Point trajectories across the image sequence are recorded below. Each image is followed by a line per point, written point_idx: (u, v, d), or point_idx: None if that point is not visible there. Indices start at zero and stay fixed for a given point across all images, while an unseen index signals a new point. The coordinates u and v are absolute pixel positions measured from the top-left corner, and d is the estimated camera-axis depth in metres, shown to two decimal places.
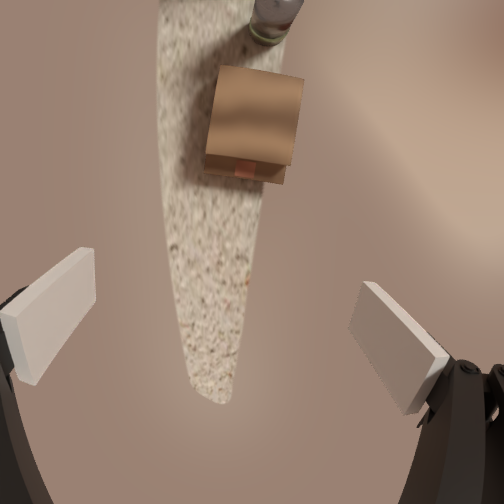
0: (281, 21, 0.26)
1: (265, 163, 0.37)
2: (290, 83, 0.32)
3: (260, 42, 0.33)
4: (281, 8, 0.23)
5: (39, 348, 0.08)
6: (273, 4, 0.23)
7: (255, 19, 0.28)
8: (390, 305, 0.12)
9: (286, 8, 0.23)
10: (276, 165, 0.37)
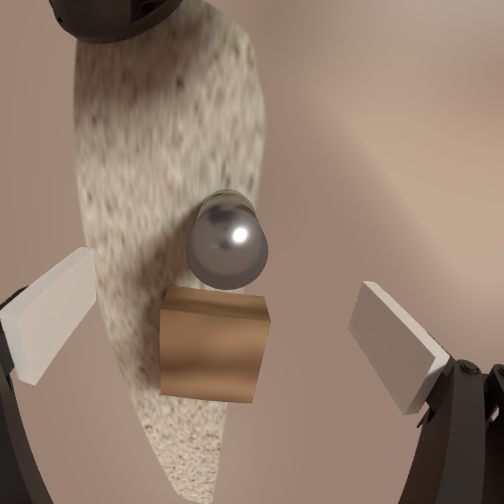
0: None
1: None
2: (251, 328, 0.27)
3: None
4: (228, 281, 0.19)
5: (39, 348, 0.08)
6: (215, 273, 0.19)
7: None
8: (390, 305, 0.12)
9: (236, 279, 0.19)
10: None
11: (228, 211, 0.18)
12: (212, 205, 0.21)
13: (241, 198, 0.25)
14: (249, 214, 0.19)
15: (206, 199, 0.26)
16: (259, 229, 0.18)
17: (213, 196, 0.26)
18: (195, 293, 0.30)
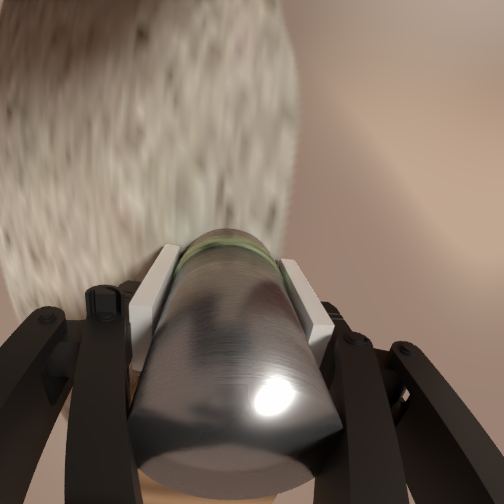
0: None
1: None
2: None
3: None
4: (237, 492, 0.06)
5: None
6: (207, 484, 0.06)
7: None
8: (295, 278, 0.13)
9: (257, 489, 0.06)
10: None
11: (236, 376, 0.05)
12: (191, 302, 0.08)
13: (258, 258, 0.12)
14: (294, 351, 0.06)
15: (186, 254, 0.13)
16: (330, 413, 0.05)
17: (199, 250, 0.13)
18: None
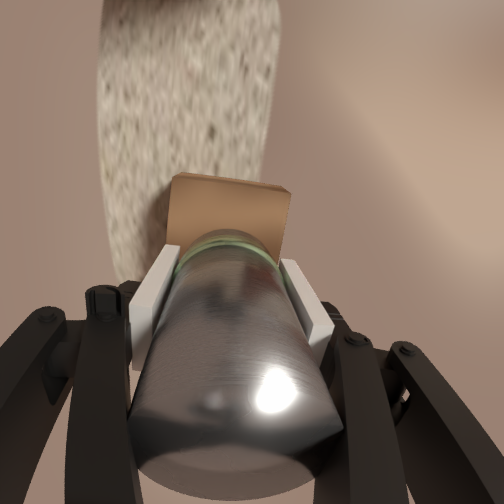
0: None
1: None
2: (270, 201, 0.25)
3: None
4: (238, 492, 0.06)
5: None
6: (207, 485, 0.06)
7: None
8: (295, 278, 0.13)
9: (257, 490, 0.06)
10: None
11: (236, 376, 0.05)
12: (191, 302, 0.08)
13: (258, 258, 0.12)
14: (295, 351, 0.06)
15: (186, 254, 0.13)
16: (330, 414, 0.05)
17: (199, 250, 0.13)
18: (209, 176, 0.28)
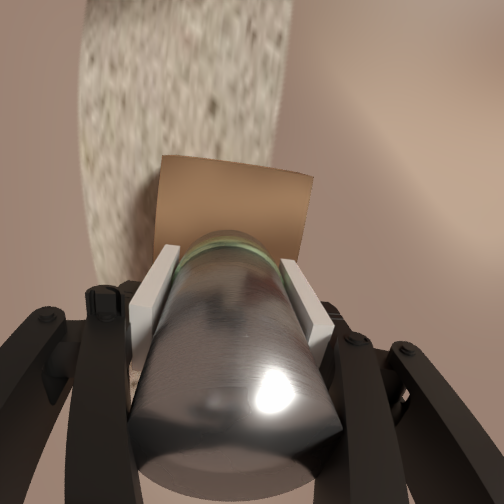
0: None
1: None
2: (288, 186, 0.20)
3: None
4: (237, 493, 0.06)
5: None
6: (207, 485, 0.06)
7: None
8: (295, 278, 0.13)
9: (257, 491, 0.06)
10: None
11: (235, 378, 0.05)
12: (191, 304, 0.08)
13: (258, 259, 0.12)
14: (294, 353, 0.06)
15: (186, 255, 0.13)
16: (330, 416, 0.05)
17: (199, 251, 0.13)
18: None
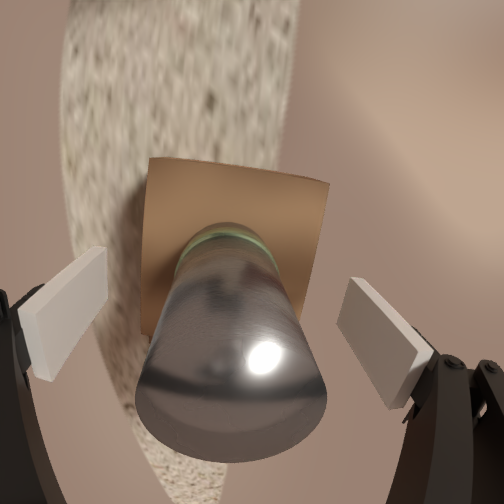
0: None
1: None
2: (300, 195, 0.17)
3: None
4: (235, 453, 0.08)
5: (56, 345, 0.08)
6: (207, 444, 0.07)
7: None
8: (376, 300, 0.12)
9: (252, 450, 0.08)
10: None
11: (233, 333, 0.06)
12: (195, 281, 0.09)
13: (254, 247, 0.13)
14: (283, 319, 0.08)
15: (189, 244, 0.15)
16: (312, 371, 0.07)
17: (201, 240, 0.14)
18: (206, 161, 0.19)
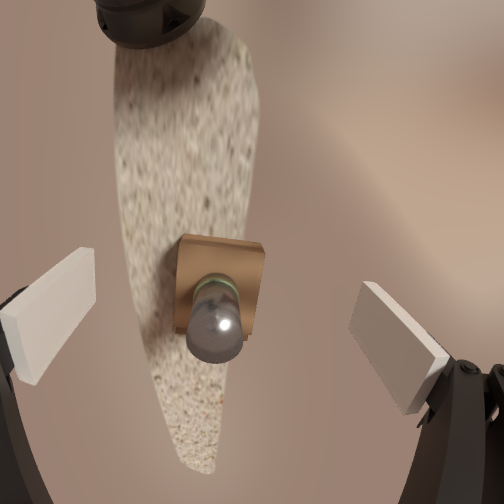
0: None
1: None
2: (250, 259, 0.36)
3: None
4: (216, 358, 0.26)
5: (39, 348, 0.08)
6: (207, 353, 0.26)
7: None
8: (390, 305, 0.12)
9: (222, 357, 0.26)
10: None
11: (214, 315, 0.25)
12: (203, 301, 0.28)
13: (226, 286, 0.32)
14: (230, 312, 0.27)
15: (199, 284, 0.33)
16: (236, 326, 0.25)
17: (205, 283, 0.33)
18: (205, 237, 0.38)
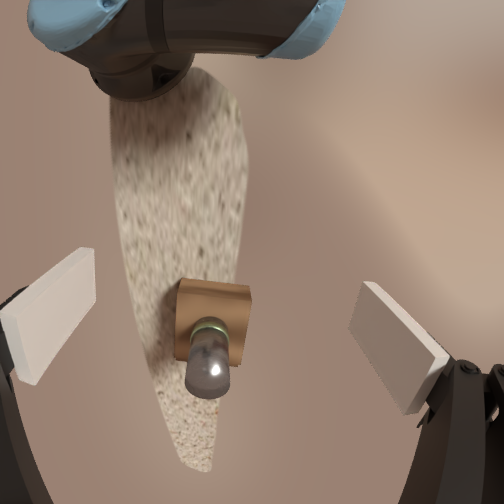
0: None
1: None
2: (239, 306, 0.41)
3: None
4: (208, 395, 0.32)
5: (39, 348, 0.08)
6: (201, 392, 0.31)
7: None
8: (390, 305, 0.12)
9: (213, 395, 0.32)
10: None
11: (206, 366, 0.30)
12: (198, 349, 0.34)
13: (218, 332, 0.37)
14: (219, 362, 0.32)
15: (195, 328, 0.39)
16: (224, 374, 0.31)
17: (200, 328, 0.38)
18: (200, 283, 0.43)
